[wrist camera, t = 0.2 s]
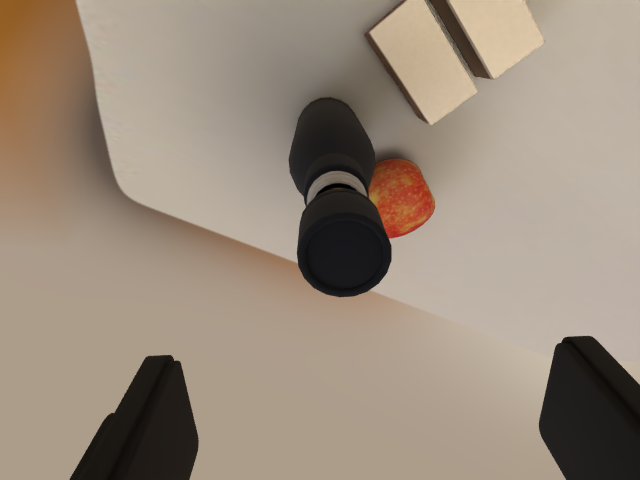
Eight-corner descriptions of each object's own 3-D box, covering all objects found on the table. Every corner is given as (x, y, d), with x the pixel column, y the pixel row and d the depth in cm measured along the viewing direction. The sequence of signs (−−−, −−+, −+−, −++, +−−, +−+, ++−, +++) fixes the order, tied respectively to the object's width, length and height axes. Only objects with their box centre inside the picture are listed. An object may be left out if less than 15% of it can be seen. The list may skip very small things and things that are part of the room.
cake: (363, 34, 41) (369, 32, 36) (407, -3, 39) (418, -10, 35) (419, 118, 44) (431, 126, 39) (461, 87, 43) (478, 91, 38)
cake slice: (421, -15, 39) (435, -24, 35) (468, -55, 38) (489, -69, 33) (475, 76, 42) (494, 79, 38) (520, 42, 41) (545, 41, 37)
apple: (431, 203, 48) (452, 231, 41) (363, 233, 49) (371, 265, 42) (406, 139, 45) (423, 156, 38) (334, 173, 46) (337, 196, 39)
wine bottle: (369, 139, 45) (450, 280, 17) (317, 170, 46) (318, 346, 19) (338, 84, 43) (377, 148, 15) (285, 118, 44) (232, 233, 17)
